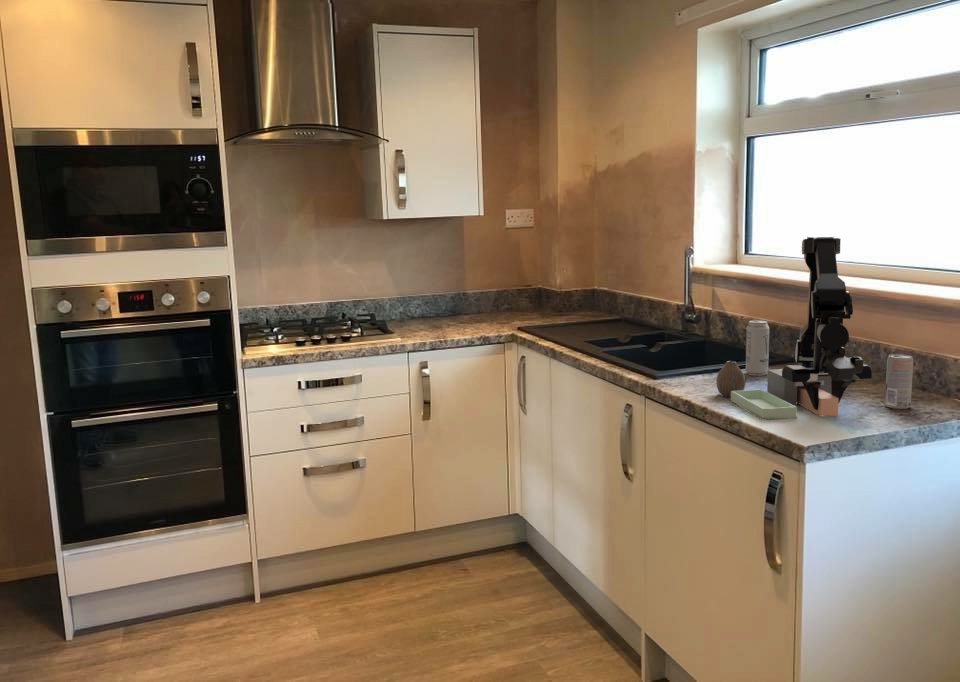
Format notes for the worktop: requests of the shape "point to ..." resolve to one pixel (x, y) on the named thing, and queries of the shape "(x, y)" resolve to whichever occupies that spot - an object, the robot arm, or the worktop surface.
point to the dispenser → (791, 386)
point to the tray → (764, 404)
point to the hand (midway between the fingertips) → (825, 408)
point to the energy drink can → (757, 348)
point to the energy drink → (899, 381)
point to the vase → (730, 379)
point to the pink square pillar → (826, 402)
